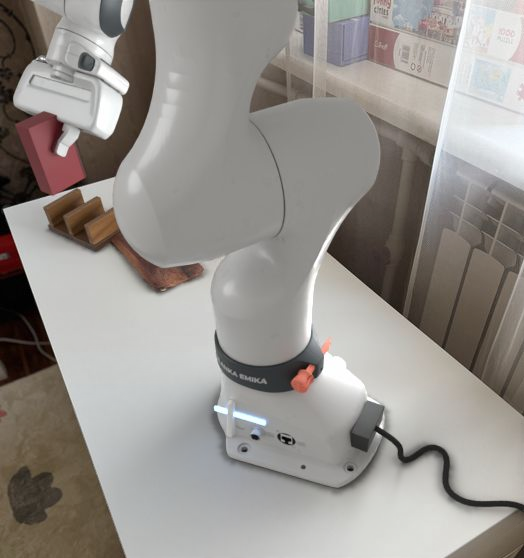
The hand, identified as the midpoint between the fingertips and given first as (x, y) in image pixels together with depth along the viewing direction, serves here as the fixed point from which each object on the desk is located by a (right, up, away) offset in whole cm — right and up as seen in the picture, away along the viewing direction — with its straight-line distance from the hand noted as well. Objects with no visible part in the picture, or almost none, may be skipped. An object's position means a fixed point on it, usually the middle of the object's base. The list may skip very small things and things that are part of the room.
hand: (48, 151), depth 84 cm
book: (+1, -4, +5) cm, 6 cm away
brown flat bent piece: (+13, -13, +17) cm, 25 cm away
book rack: (-1, -7, +22) cm, 23 cm away
